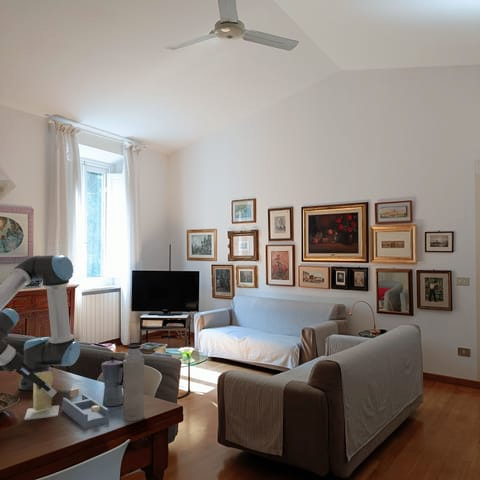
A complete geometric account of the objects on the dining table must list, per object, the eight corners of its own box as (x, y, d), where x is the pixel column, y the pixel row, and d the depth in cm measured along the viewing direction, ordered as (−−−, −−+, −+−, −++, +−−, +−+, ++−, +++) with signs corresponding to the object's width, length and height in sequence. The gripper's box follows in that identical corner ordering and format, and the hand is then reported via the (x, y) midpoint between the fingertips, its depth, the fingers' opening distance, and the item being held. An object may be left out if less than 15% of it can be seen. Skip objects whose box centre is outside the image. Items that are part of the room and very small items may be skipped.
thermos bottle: (120, 421, 165) (120, 347, 167) (126, 413, 173) (126, 343, 175) (140, 421, 165) (141, 347, 166) (146, 413, 173) (146, 343, 174)
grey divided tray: (62, 410, 177) (62, 390, 178) (84, 405, 183) (84, 386, 183) (84, 428, 158) (85, 406, 158) (108, 422, 164) (108, 401, 164)
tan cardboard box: (33, 408, 174) (33, 373, 175) (48, 405, 178) (49, 370, 179) (35, 411, 171) (36, 375, 172) (51, 407, 175) (52, 372, 176)
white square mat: (27, 410, 178) (27, 408, 178) (59, 406, 182) (59, 405, 182) (24, 420, 167) (24, 418, 167) (57, 416, 171) (57, 414, 171)
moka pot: (111, 397, 193) (112, 352, 194) (134, 404, 184) (135, 357, 185) (93, 403, 186) (94, 356, 186) (116, 410, 177) (117, 361, 177)
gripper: (-4, 362, 172) (39, 396, 182) (6, 370, 159) (52, 406, 169) (11, 347, 176) (52, 381, 186) (22, 354, 163) (66, 390, 173)
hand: (52, 393), depth 177 cm, fingers closed on tan cardboard box, 4 cm apart
